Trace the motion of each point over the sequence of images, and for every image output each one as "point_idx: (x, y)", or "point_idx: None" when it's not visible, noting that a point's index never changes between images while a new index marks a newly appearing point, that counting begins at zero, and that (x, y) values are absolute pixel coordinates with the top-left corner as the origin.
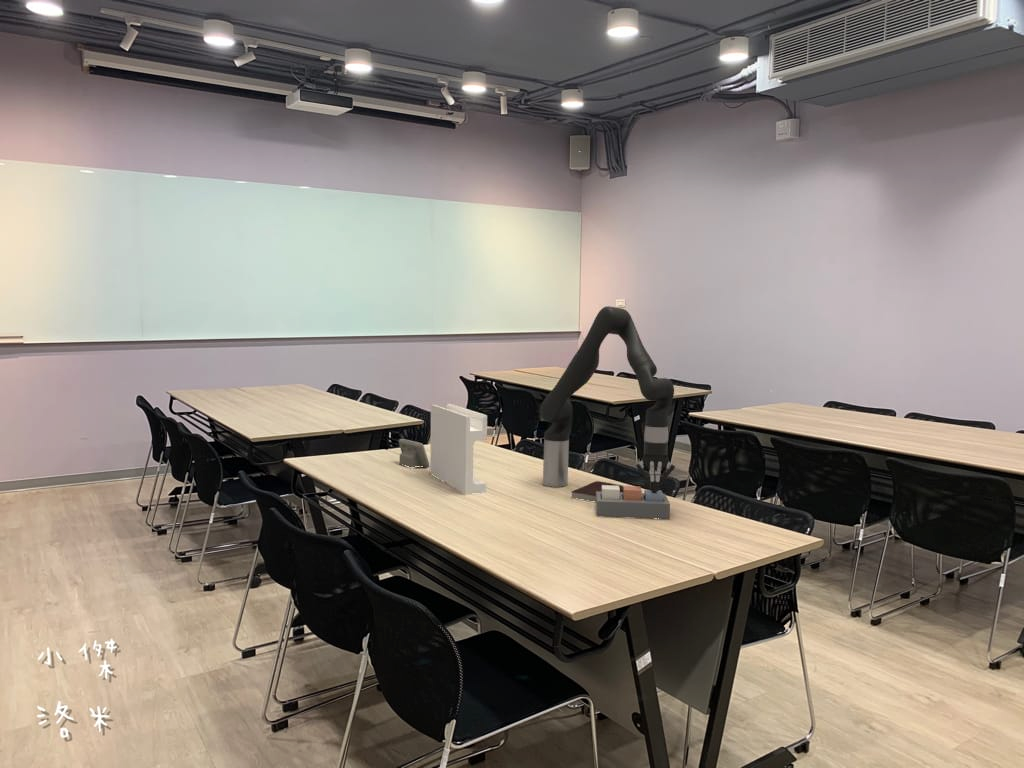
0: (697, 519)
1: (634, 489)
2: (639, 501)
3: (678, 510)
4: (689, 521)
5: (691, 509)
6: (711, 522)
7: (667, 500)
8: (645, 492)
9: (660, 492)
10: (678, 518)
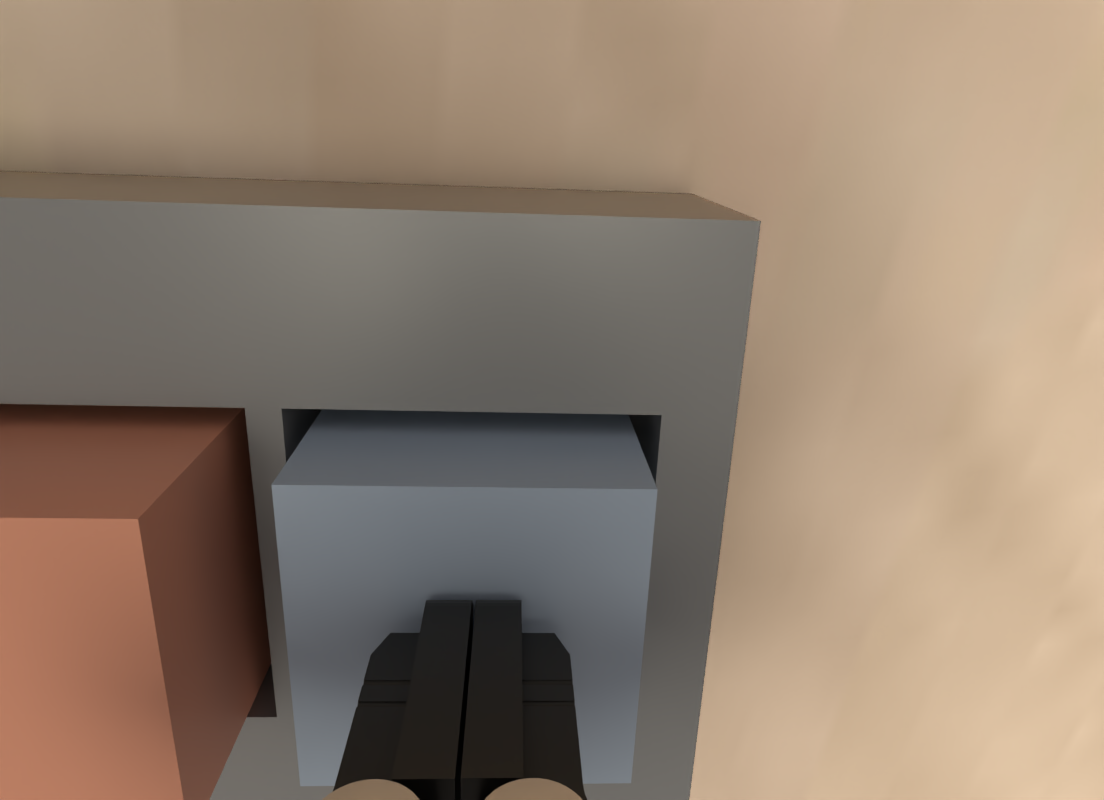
0: (976, 627)
1: (26, 780)
2: (224, 776)
3: (874, 259)
4: (856, 706)
5: (1089, 176)
6: (1085, 707)
7: (691, 662)
8: (292, 685)
9: (602, 640)
10: (765, 619)
